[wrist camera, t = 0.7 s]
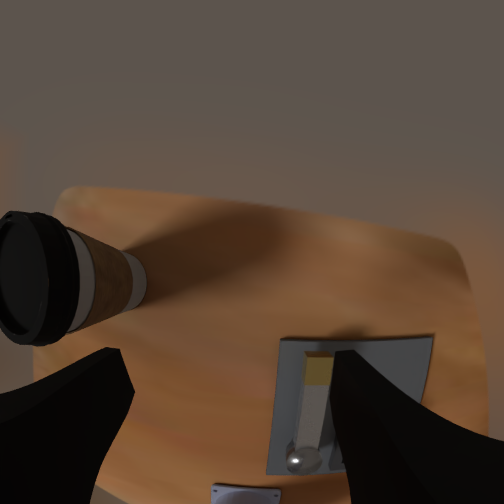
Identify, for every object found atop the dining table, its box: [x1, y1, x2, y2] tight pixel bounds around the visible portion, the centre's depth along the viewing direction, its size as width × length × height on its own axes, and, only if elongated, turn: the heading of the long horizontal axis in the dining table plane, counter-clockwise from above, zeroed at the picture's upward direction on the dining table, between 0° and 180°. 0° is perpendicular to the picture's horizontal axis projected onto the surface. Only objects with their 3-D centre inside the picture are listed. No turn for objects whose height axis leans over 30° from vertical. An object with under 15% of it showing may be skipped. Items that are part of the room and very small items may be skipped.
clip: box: [285, 351, 334, 476], centre depth 20 cm, size 12×3×2 cm, turn 176°
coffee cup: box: [0, 211, 147, 346], centre depth 18 cm, size 8×8×15 cm
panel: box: [266, 336, 433, 475], centre depth 22 cm, size 16×16×2 cm
